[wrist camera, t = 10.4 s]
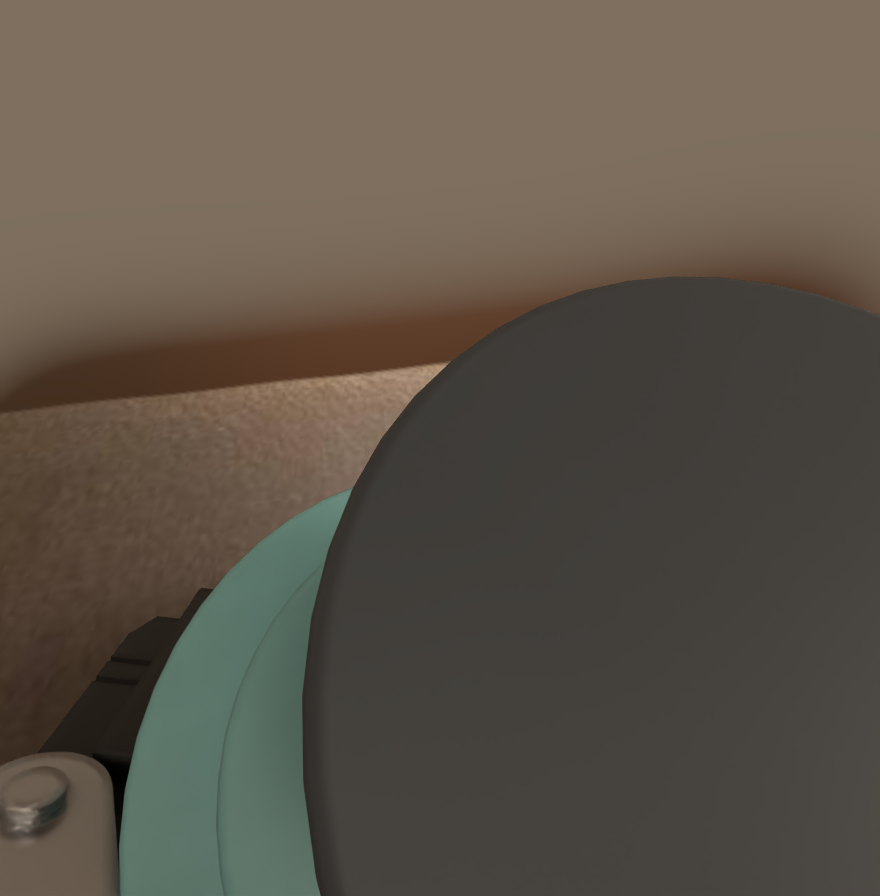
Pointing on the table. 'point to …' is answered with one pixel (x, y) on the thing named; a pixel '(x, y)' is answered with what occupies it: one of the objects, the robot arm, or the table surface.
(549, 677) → the bottle
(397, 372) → the table surface
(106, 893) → the robot arm
